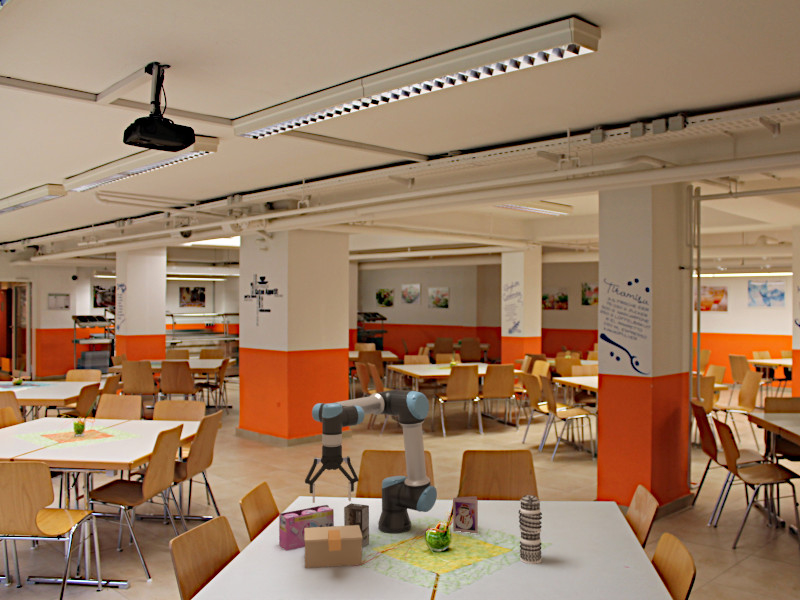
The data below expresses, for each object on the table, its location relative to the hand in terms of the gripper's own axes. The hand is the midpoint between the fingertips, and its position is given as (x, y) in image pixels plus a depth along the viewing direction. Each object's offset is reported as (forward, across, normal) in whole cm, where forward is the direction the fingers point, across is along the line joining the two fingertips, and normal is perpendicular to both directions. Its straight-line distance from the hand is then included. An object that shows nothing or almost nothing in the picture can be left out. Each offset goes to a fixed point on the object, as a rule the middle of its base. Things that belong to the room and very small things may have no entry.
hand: (331, 501), depth 241 cm
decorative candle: (+27, -79, -1) cm, 84 cm away
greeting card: (+27, -63, -39) cm, 79 cm away
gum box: (+27, +9, -35) cm, 45 cm away
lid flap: (+17, -1, -8) cm, 19 cm away
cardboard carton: (+27, -1, -14) cm, 30 cm away
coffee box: (+27, -12, -30) cm, 42 cm away
